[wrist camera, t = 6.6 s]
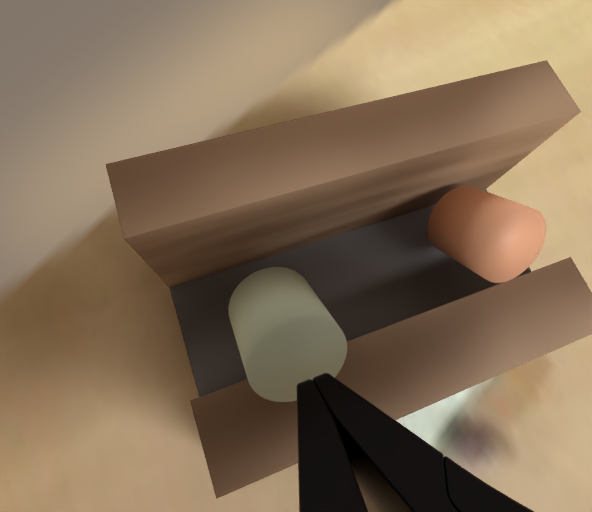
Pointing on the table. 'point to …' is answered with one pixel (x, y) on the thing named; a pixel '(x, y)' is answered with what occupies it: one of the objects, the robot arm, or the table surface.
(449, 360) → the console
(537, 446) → the table surface
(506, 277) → the terracotta button
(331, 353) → the sage button
